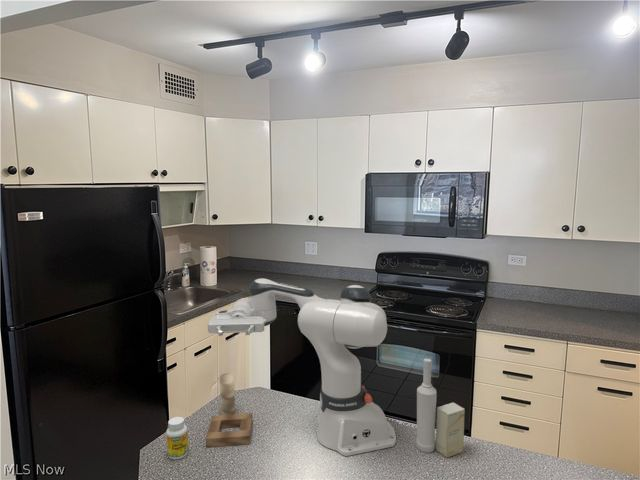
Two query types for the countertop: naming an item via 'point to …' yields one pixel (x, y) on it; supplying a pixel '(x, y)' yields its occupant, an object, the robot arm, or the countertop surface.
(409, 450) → the countertop surface
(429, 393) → the bottle
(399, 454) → the countertop surface
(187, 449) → the supplement bottle
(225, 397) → the dowel
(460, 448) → the skincare box
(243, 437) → the socket block
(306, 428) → the countertop surface
